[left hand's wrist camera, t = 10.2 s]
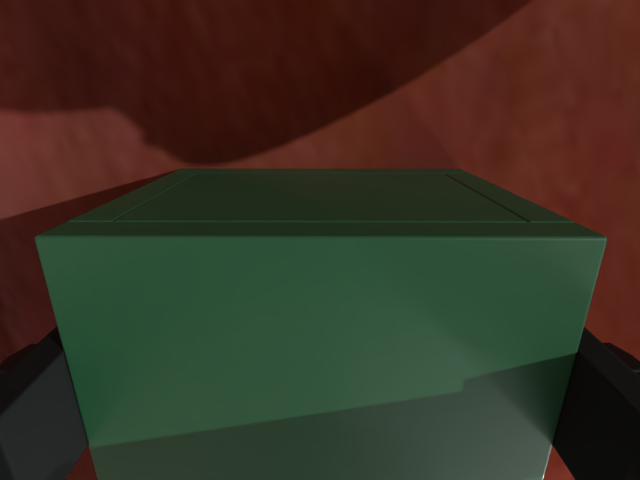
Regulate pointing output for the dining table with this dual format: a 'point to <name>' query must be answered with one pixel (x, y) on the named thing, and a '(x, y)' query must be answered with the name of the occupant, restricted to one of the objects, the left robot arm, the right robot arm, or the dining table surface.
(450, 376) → the green rectangular box
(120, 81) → the dining table surface
